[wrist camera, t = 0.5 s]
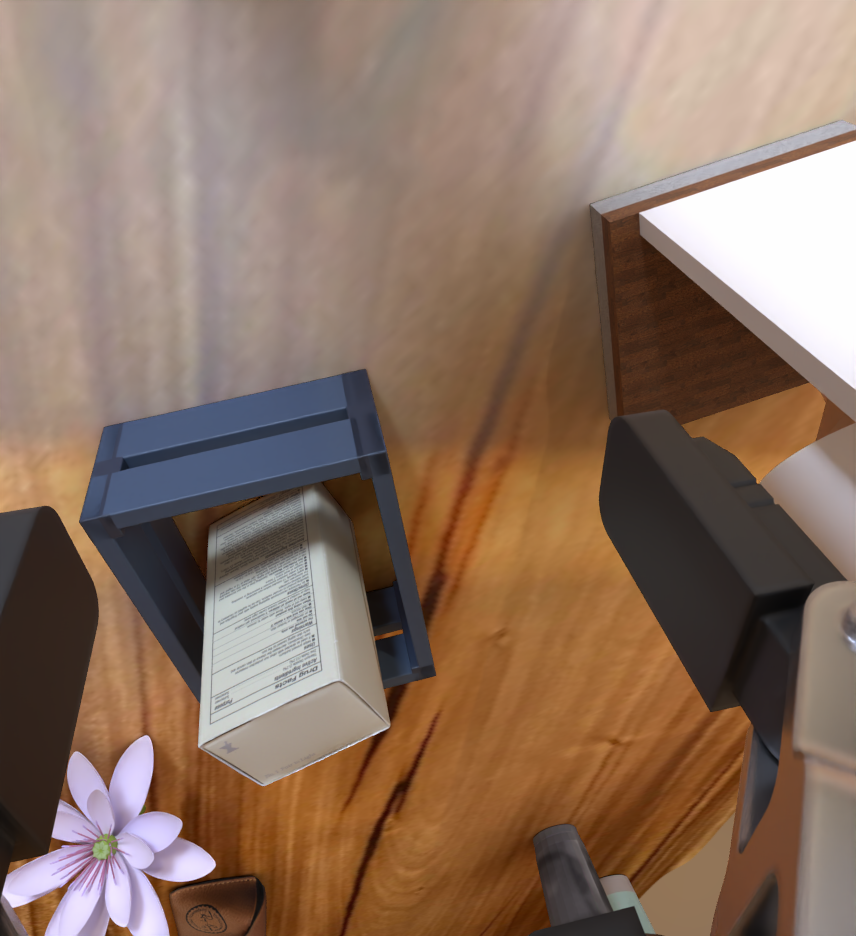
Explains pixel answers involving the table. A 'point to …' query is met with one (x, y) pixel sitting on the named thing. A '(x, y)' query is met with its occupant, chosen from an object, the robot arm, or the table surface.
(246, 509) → the cosmetic box
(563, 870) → the beverage cup
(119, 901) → the water lily
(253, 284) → the table surface
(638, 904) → the coffee cup
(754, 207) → the two-tier display stand
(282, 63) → the table surface
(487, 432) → the table surface
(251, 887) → the sunglasses case
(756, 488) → the robot arm
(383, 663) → the crate
